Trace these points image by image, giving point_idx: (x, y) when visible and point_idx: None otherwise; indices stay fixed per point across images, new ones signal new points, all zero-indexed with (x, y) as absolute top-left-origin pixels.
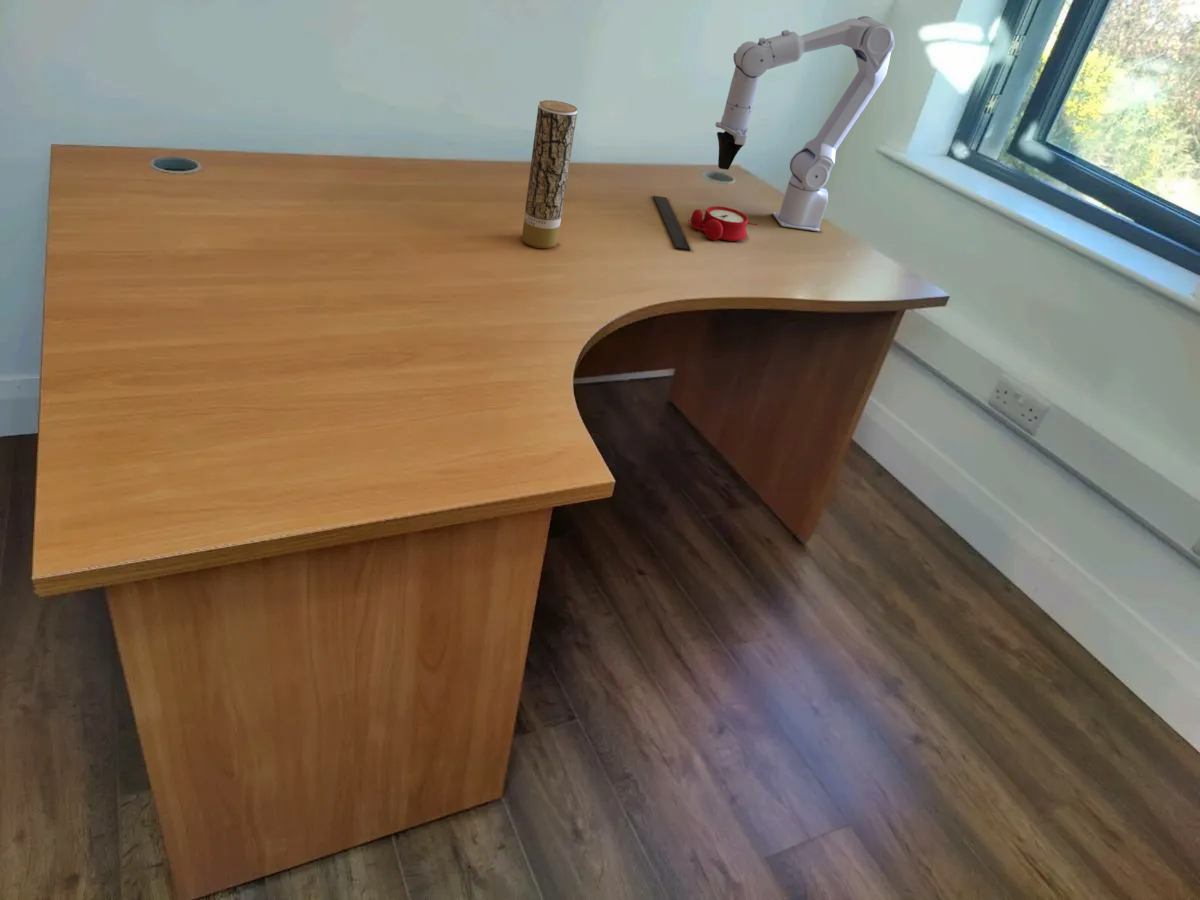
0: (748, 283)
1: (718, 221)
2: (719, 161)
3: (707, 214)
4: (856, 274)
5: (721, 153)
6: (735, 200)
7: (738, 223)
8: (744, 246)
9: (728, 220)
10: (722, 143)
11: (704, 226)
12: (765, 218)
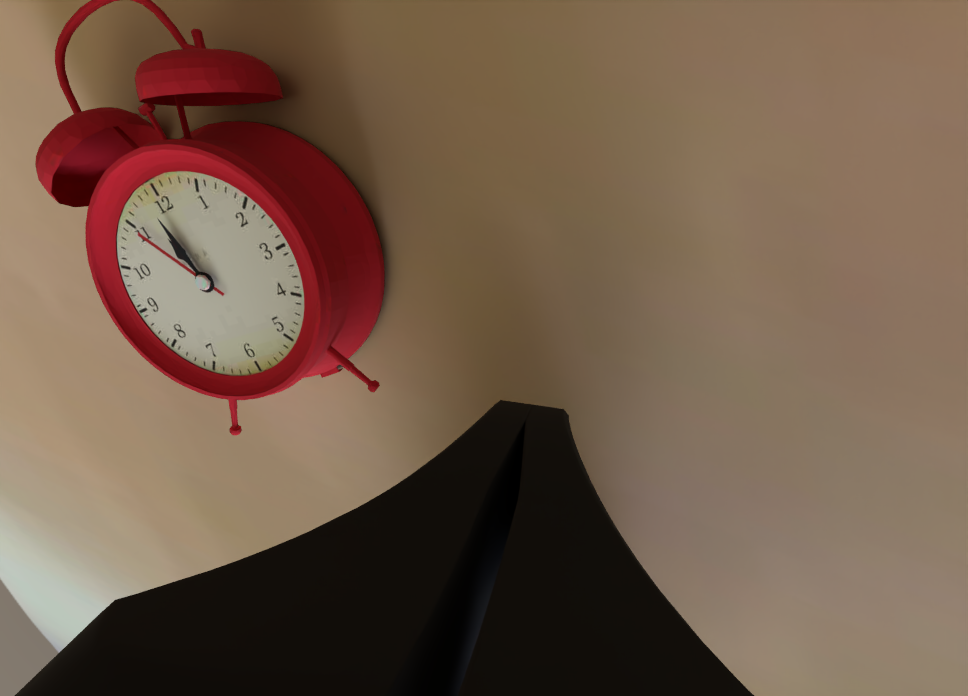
0: None
1: (48, 179)
2: (500, 426)
3: (161, 142)
4: None
5: (403, 480)
6: (816, 522)
7: (111, 311)
8: None
9: (149, 269)
10: (191, 580)
11: (197, 134)
12: None
